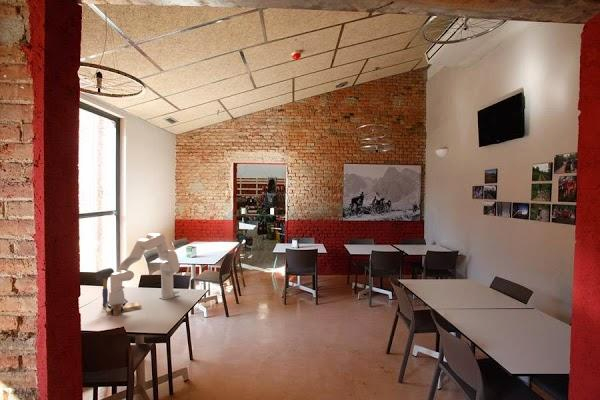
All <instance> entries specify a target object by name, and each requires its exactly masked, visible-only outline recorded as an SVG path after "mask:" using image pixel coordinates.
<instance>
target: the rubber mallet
mask: <svg viewBox="0 0 600 400" xmlns="http://www.w3.org/2000/svg"><path fill="white" fill-rule="evenodd" d="M112 273H115V270H114V269H113V268H111V267H109V268H104V269H100V270H99V271H96V272H95V276H94V277H95V279H96V280H98V281H101V280H102V282H103V283H102V288H103V289H102V293H101V294H102V306H103V308H107V307H106V306H105V305H106V304H107V302H108V301H109V290H108V281H107V279H109V278H110V275H111V274H112Z"/></svg>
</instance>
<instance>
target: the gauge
mask: <svg viewBox="0 0 600 400" xmlns="http://www.w3.org/2000/svg"><path fill="white" fill-rule="evenodd" d="M121 315H122V313H121V304H117V305H113V315H112V316H113V317H116V316H121Z"/></svg>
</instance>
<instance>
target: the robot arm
mask: <svg viewBox="0 0 600 400" xmlns="http://www.w3.org/2000/svg"><path fill="white" fill-rule="evenodd" d="M132 248H133V249H132V250H131V252H130V254H129V256H127V257H126V258H125V259H124V260H123V261H122V262H121V263H120V265H119V267H118V268H117V270H116V271H114V273H112V274H111V275H110V277H109V278H110V291H108V302H107V304H106V305H105V306H106V307H105V308H107V307H108V308H110V309H111V313H112V314H111V315H112V316H113V305H117V304H121V314H122V313H123V312H122V311H123V306H124V305H125V304H128V302H129V301H128V299H126V298H125V292H124V289H125V286H123V282H128V281H131V280H132V279H133V278H134V277H135V273H134V272H133V271H131V270H129V268H130V267H131V265H133V264H134V263H137V262H139V261H141V259H142V257H143V255H144V253H145V251H150V250H151V251H152V249H155V248H156V252H157V254H158V257H159V259H160V260H161V261H162V262H161V263H160V264H159V270H160V276H161V277H160V278H161V279H160V280H161V281H160V282H161V283H160V284H161V295H159V298H160V299H161V300H171V299H173V298H175V297H176V295H177V294H180V291H179V290H178V291H177V290H174V274H175V273H178V272H179V271H180V263H179V262H180V261H179V257H178V254H177V253H176V251H174V250H173V249H169V247H168V244H167V241H166V236H165V235H164V234H162V233H156V232H151V233H148V234H147V235H146V238H139V239H137V241H136V242H135V244H134V246H133V247H132Z"/></svg>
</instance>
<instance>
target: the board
mask: <svg viewBox="0 0 600 400" xmlns="http://www.w3.org/2000/svg"><path fill="white" fill-rule="evenodd" d="M138 309H142V304H141V303H140V301H135V302H134V301H133V302H129V303H128V302H127V303H126V304H125V305H124V306H123V311H122V313H124V312H130V311H135V310H138ZM105 312H106V315H107V316H108V315H112V313H111V309H110V308H108V307H105Z"/></svg>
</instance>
